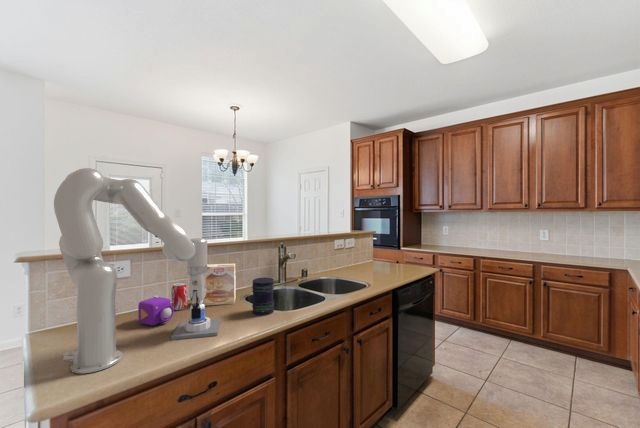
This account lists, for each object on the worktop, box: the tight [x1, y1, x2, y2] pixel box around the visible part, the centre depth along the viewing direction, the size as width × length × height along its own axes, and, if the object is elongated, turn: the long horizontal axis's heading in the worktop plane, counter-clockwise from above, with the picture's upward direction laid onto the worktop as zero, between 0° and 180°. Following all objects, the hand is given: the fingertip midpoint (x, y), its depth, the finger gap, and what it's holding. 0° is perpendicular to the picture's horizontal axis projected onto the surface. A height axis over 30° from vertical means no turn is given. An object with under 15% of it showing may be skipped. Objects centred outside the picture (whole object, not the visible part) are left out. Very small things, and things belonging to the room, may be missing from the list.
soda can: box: [170, 281, 189, 311], centre depth 140 cm, size 7×7×12 cm
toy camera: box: [137, 295, 175, 327], centre depth 123 cm, size 11×14×10 cm
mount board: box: [170, 316, 222, 341], centre depth 115 cm, size 16×14×4 cm
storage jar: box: [251, 277, 275, 317], centre depth 135 cm, size 10×10×15 cm
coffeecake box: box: [203, 263, 237, 306], centre depth 149 cm, size 15×7×20 cm, turn 102°
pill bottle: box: [189, 298, 206, 324], centre depth 115 cm, size 6×5×10 cm
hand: (197, 315), depth 115 cm, fingers closed on pill bottle, 5 cm apart
